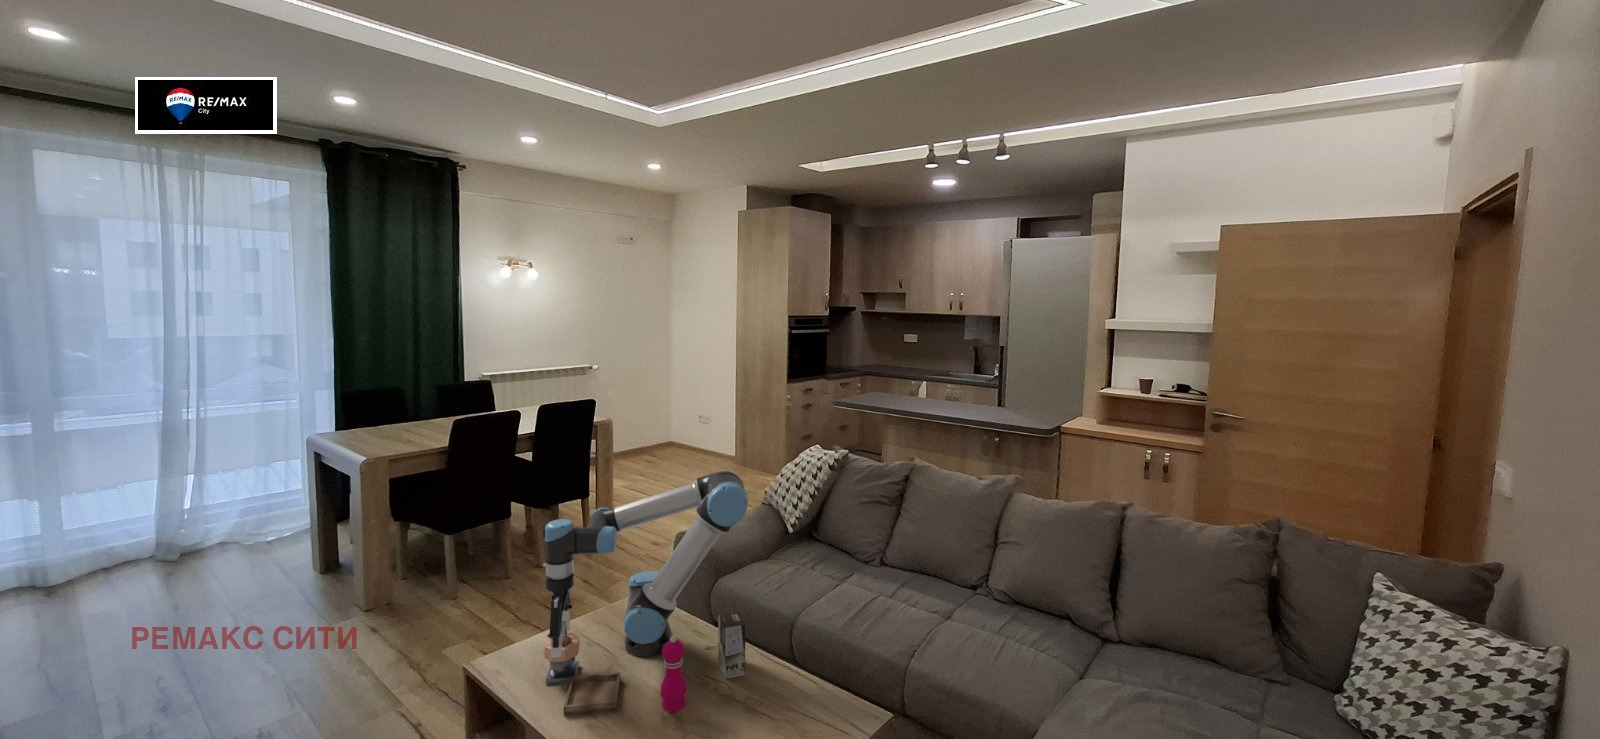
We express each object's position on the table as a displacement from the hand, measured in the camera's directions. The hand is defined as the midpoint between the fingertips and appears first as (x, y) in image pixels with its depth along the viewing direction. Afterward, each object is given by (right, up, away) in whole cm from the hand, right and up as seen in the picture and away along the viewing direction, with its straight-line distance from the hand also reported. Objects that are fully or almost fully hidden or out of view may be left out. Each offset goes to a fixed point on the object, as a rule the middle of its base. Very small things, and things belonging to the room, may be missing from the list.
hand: (560, 643), depth 184 cm
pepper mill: (+35, -12, -11) cm, 39 cm away
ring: (0, -3, 0) cm, 3 cm away
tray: (+12, -11, -9) cm, 19 cm away
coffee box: (+49, -10, +6) cm, 51 cm away
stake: (0, -10, +1) cm, 10 cm away
